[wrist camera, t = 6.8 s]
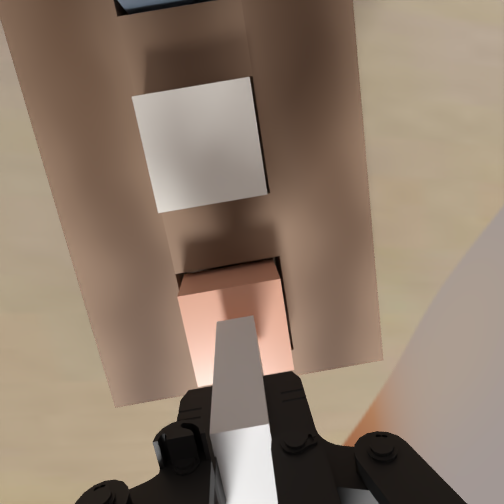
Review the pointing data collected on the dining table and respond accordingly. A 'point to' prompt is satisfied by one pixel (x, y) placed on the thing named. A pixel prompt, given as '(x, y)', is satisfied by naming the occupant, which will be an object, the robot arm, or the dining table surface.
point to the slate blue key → (154, 4)
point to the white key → (201, 144)
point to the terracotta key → (235, 313)
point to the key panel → (213, 215)
